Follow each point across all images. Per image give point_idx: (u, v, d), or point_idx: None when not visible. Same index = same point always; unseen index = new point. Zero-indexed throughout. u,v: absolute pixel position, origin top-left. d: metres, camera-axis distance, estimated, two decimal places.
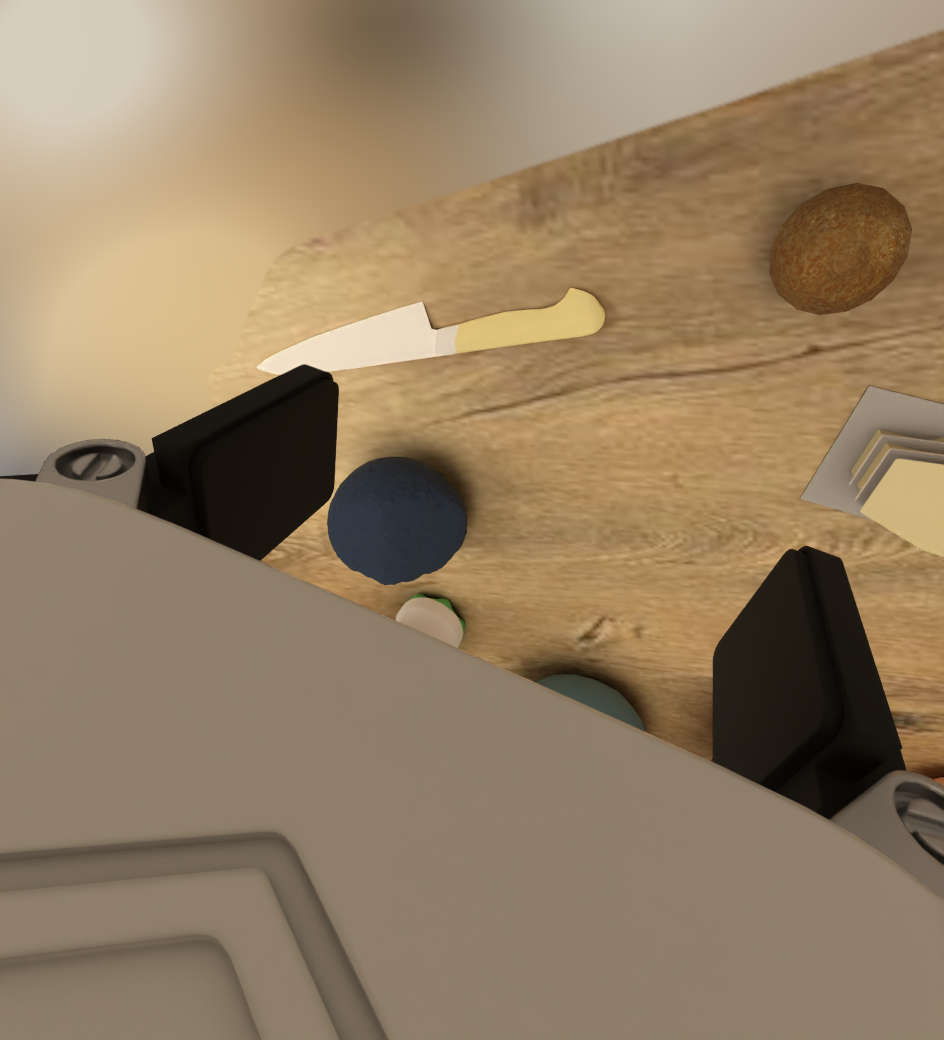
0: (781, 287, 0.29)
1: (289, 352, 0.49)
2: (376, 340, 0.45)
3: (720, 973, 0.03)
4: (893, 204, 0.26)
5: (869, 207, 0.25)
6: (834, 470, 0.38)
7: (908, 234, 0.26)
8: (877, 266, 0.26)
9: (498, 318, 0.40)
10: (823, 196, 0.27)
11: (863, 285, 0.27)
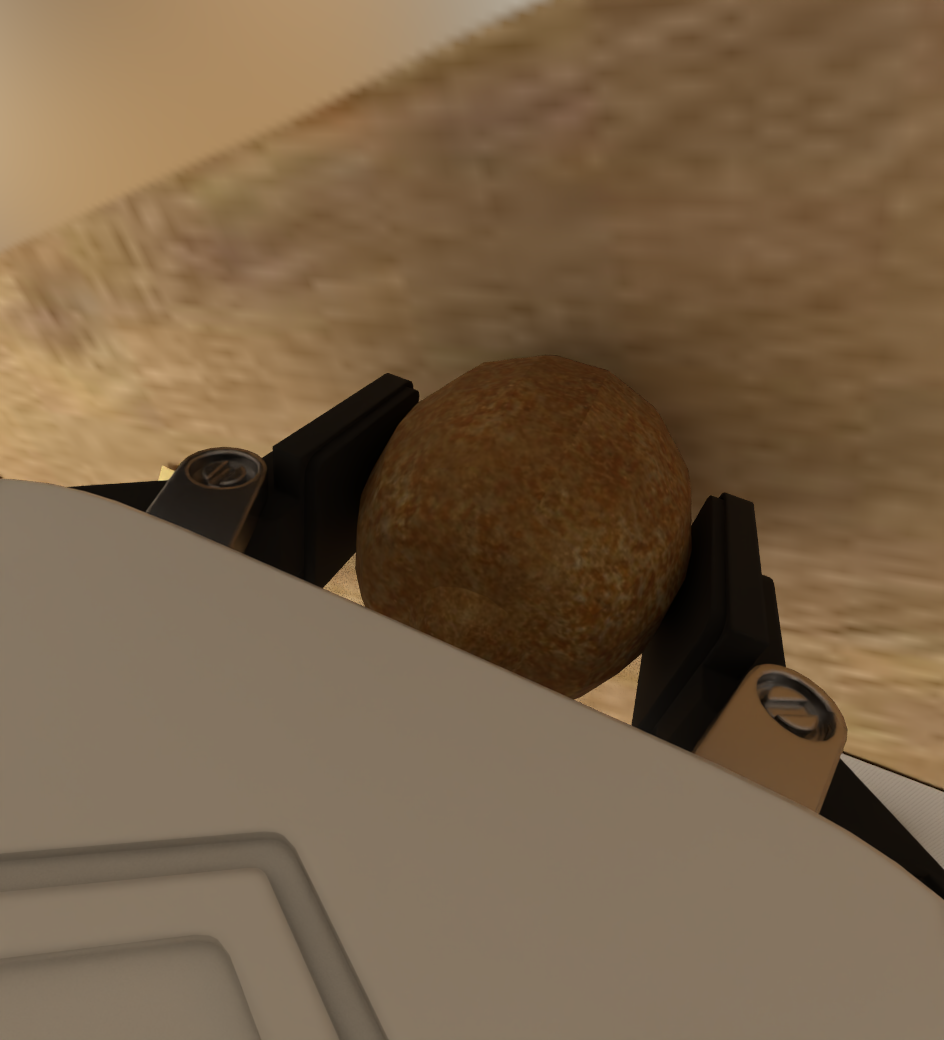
0: None
1: None
2: None
3: (720, 973, 0.03)
4: (593, 471, 0.08)
5: (499, 492, 0.07)
6: None
7: (652, 562, 0.08)
8: (552, 665, 0.08)
9: None
10: (432, 404, 0.09)
11: None
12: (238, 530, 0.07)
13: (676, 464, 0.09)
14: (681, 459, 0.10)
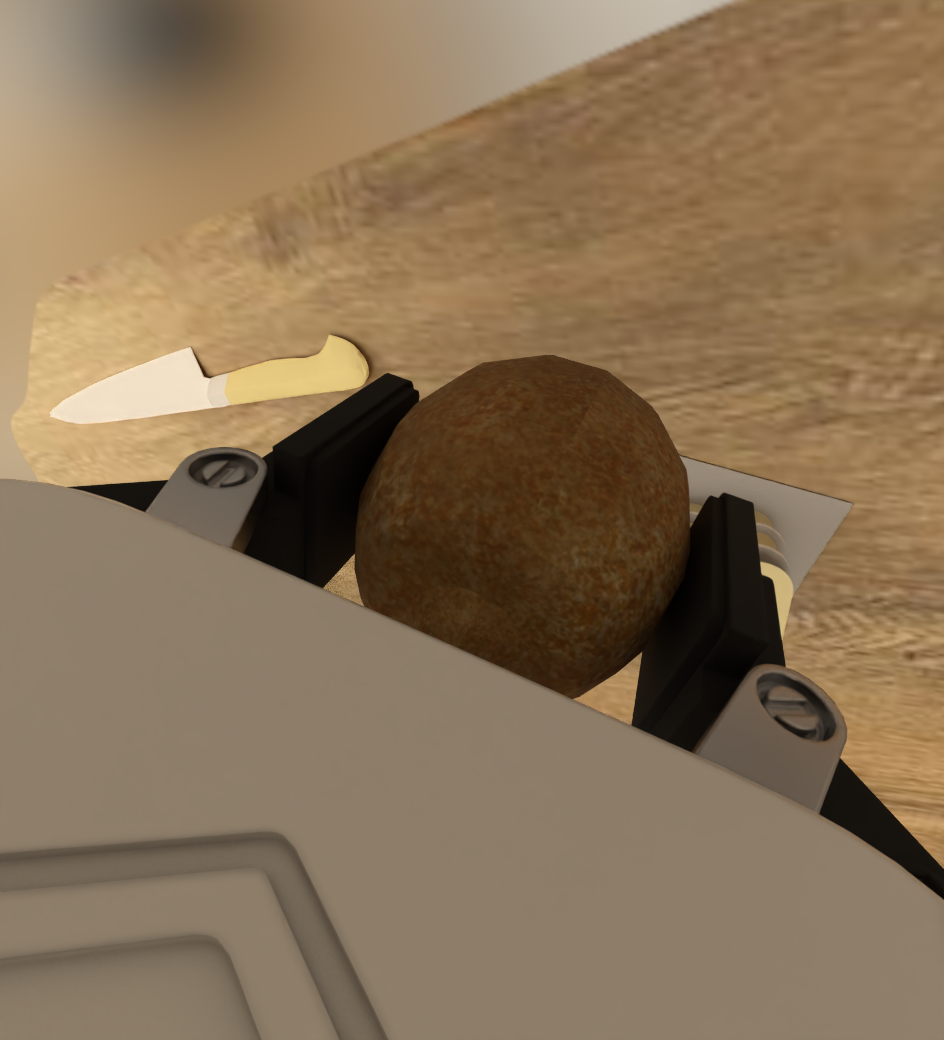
0: None
1: (76, 399, 0.44)
2: (154, 388, 0.40)
3: (720, 973, 0.03)
4: (591, 471, 0.08)
5: (497, 492, 0.07)
6: None
7: (650, 561, 0.08)
8: (550, 664, 0.08)
9: (264, 367, 0.35)
10: (431, 404, 0.09)
11: None
12: (238, 530, 0.07)
13: (674, 464, 0.09)
14: (680, 459, 0.10)
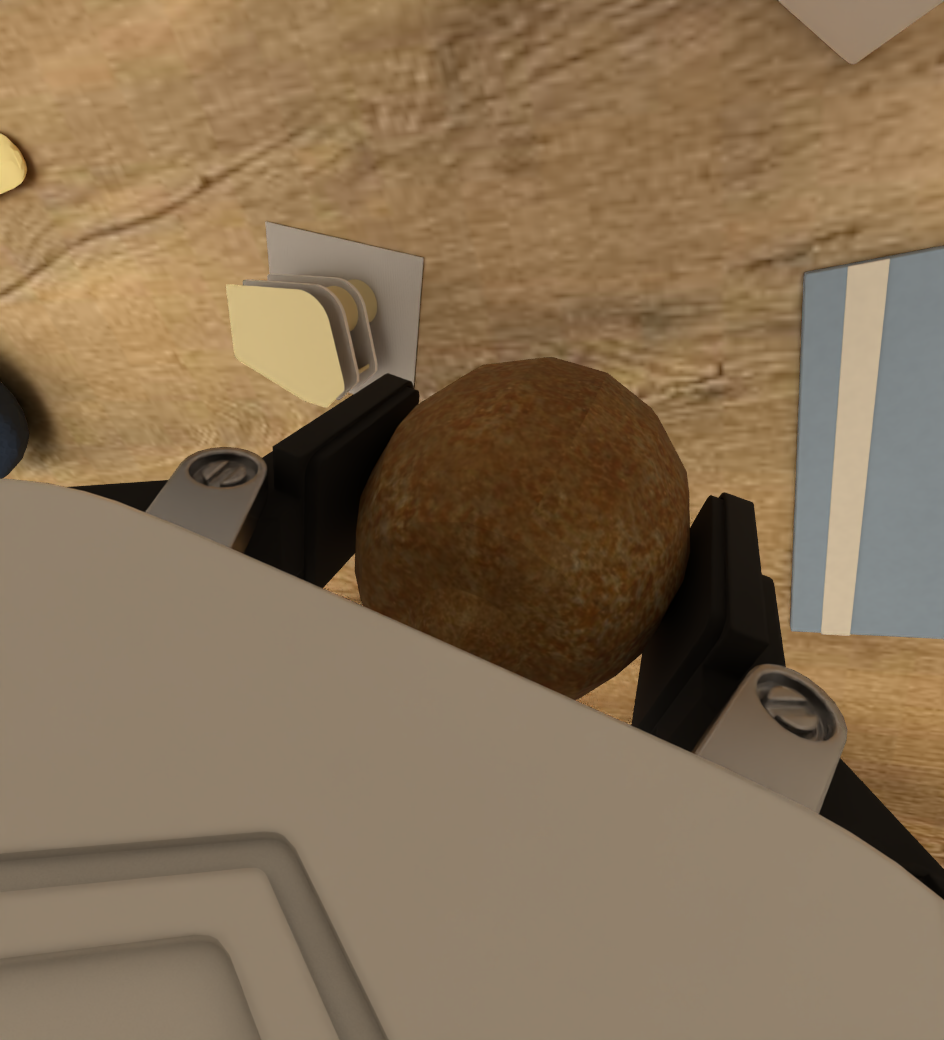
0: None
1: None
2: None
3: (720, 973, 0.03)
4: (591, 473, 0.08)
5: (498, 495, 0.07)
6: None
7: (650, 564, 0.08)
8: (550, 667, 0.08)
9: None
10: (431, 407, 0.09)
11: None
12: (238, 530, 0.07)
13: (674, 466, 0.09)
14: (679, 461, 0.10)
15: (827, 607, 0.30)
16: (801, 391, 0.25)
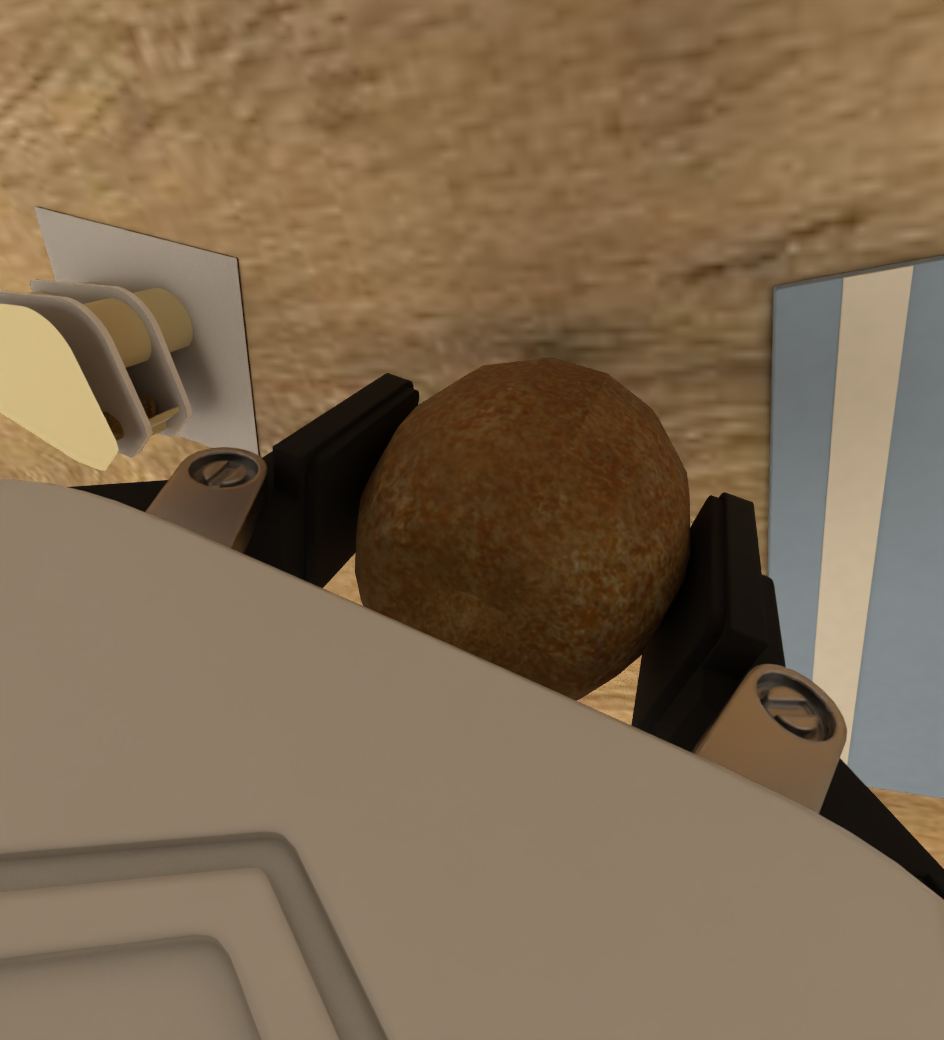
0: None
1: None
2: None
3: (720, 973, 0.03)
4: (592, 474, 0.08)
5: (498, 495, 0.07)
6: None
7: (650, 564, 0.08)
8: (551, 667, 0.08)
9: None
10: (431, 407, 0.09)
11: None
12: (238, 530, 0.07)
13: (675, 467, 0.09)
14: (680, 462, 0.10)
15: None
16: (772, 465, 0.17)
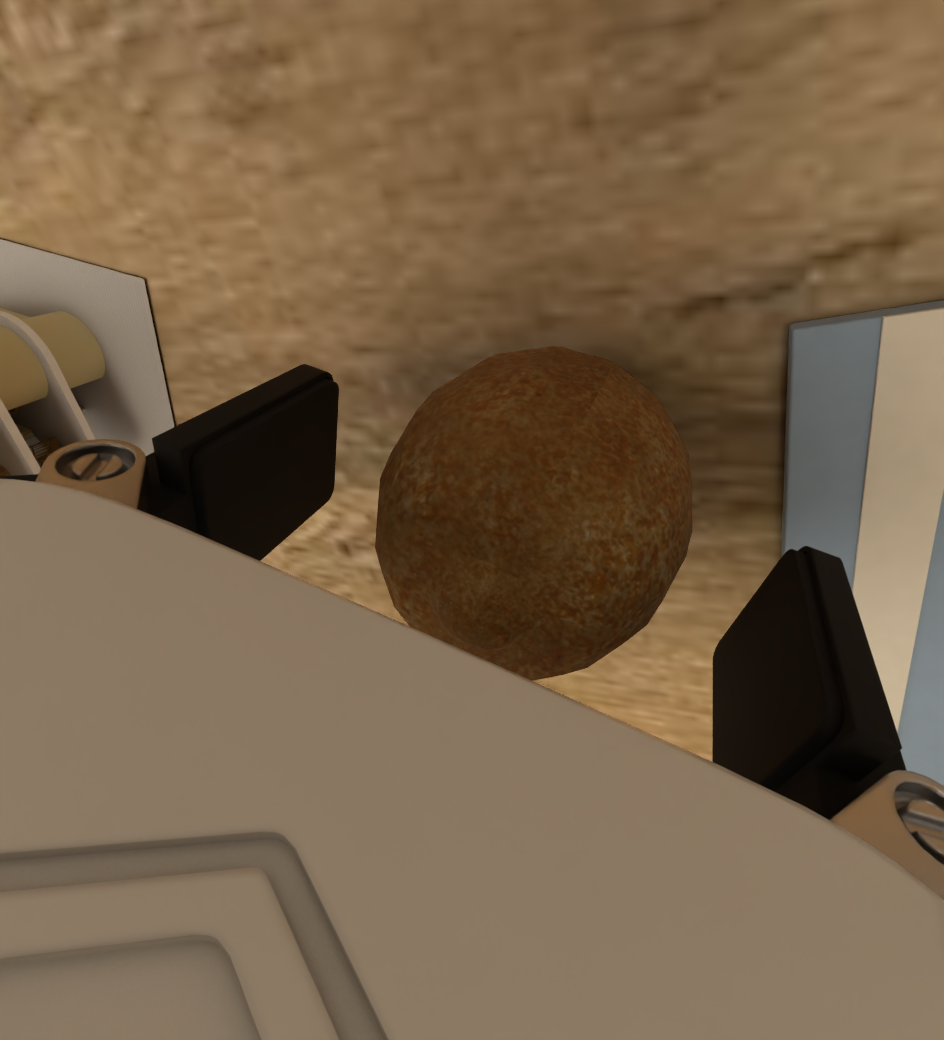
0: None
1: None
2: None
3: (720, 973, 0.03)
4: (601, 451, 0.08)
5: (514, 469, 0.08)
6: None
7: (655, 536, 0.08)
8: (562, 632, 0.08)
9: None
10: (448, 392, 0.10)
11: (542, 664, 0.09)
12: None
13: (677, 448, 0.10)
14: (682, 444, 0.10)
15: None
16: (785, 541, 0.13)
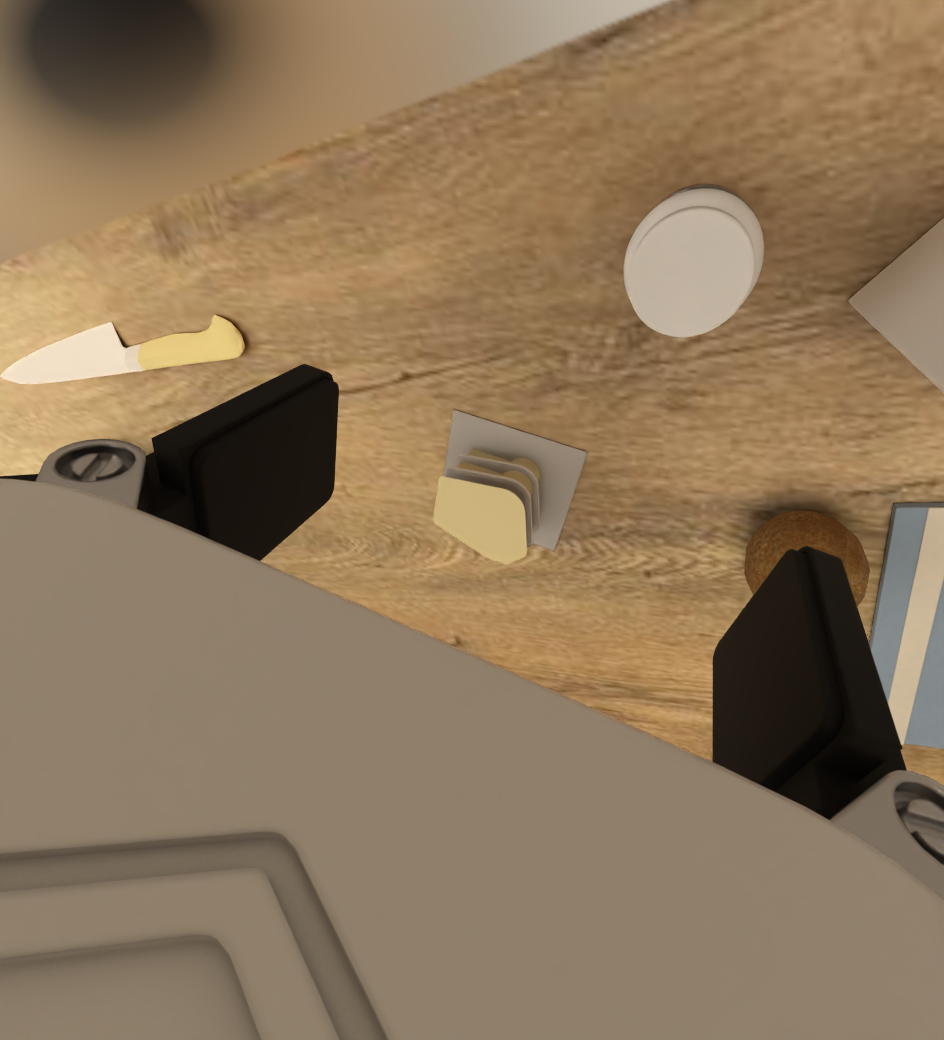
0: (753, 593, 0.32)
1: (22, 363, 0.53)
2: (84, 355, 0.49)
3: (720, 973, 0.03)
4: (852, 559, 0.28)
5: None
6: None
7: (865, 583, 0.29)
8: None
9: (166, 340, 0.44)
10: (791, 533, 0.30)
11: None
12: None
13: (864, 553, 0.30)
14: None
15: None
16: (884, 579, 0.34)
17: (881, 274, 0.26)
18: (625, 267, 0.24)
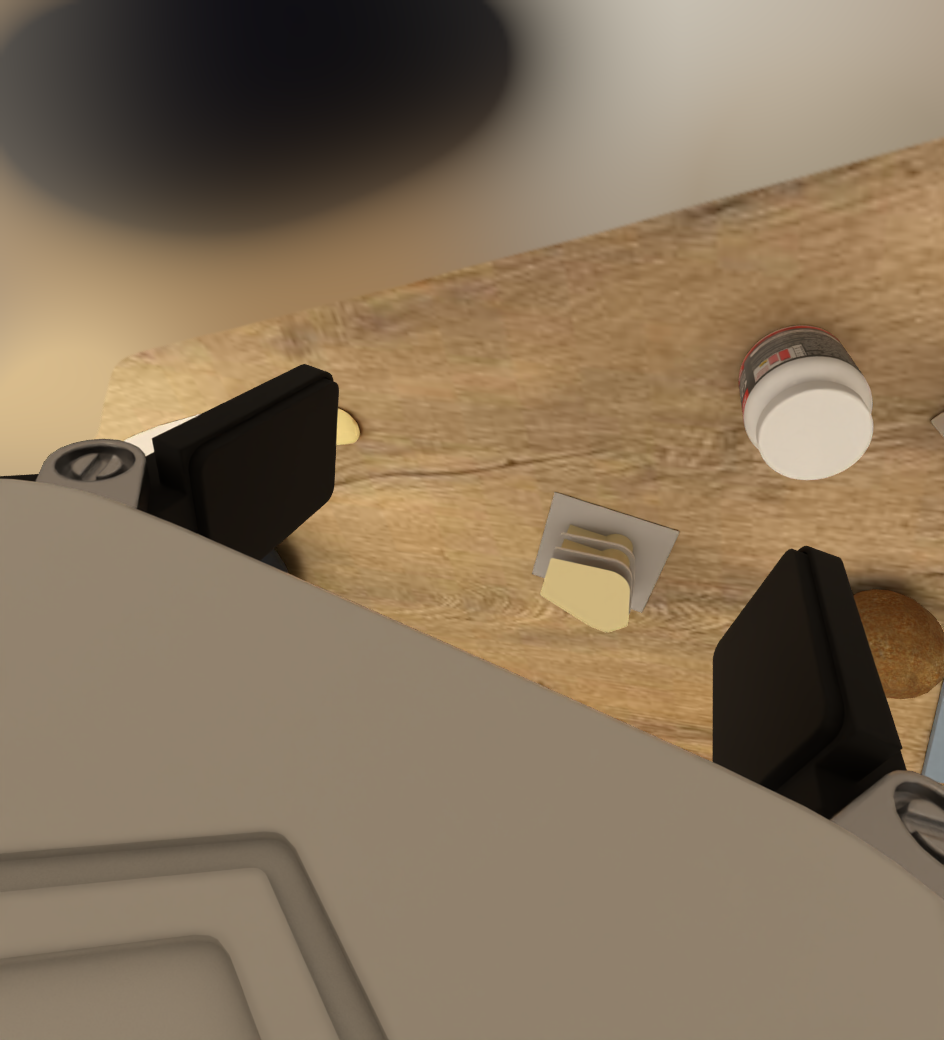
0: None
1: (139, 438, 0.58)
2: None
3: (720, 973, 0.03)
4: (936, 642, 0.33)
5: (917, 648, 0.32)
6: (549, 553, 0.47)
7: None
8: (923, 687, 0.33)
9: None
10: (878, 617, 0.34)
11: (911, 694, 0.34)
12: None
13: (943, 633, 0.34)
14: None
15: None
16: None
17: None
18: (747, 413, 0.28)
